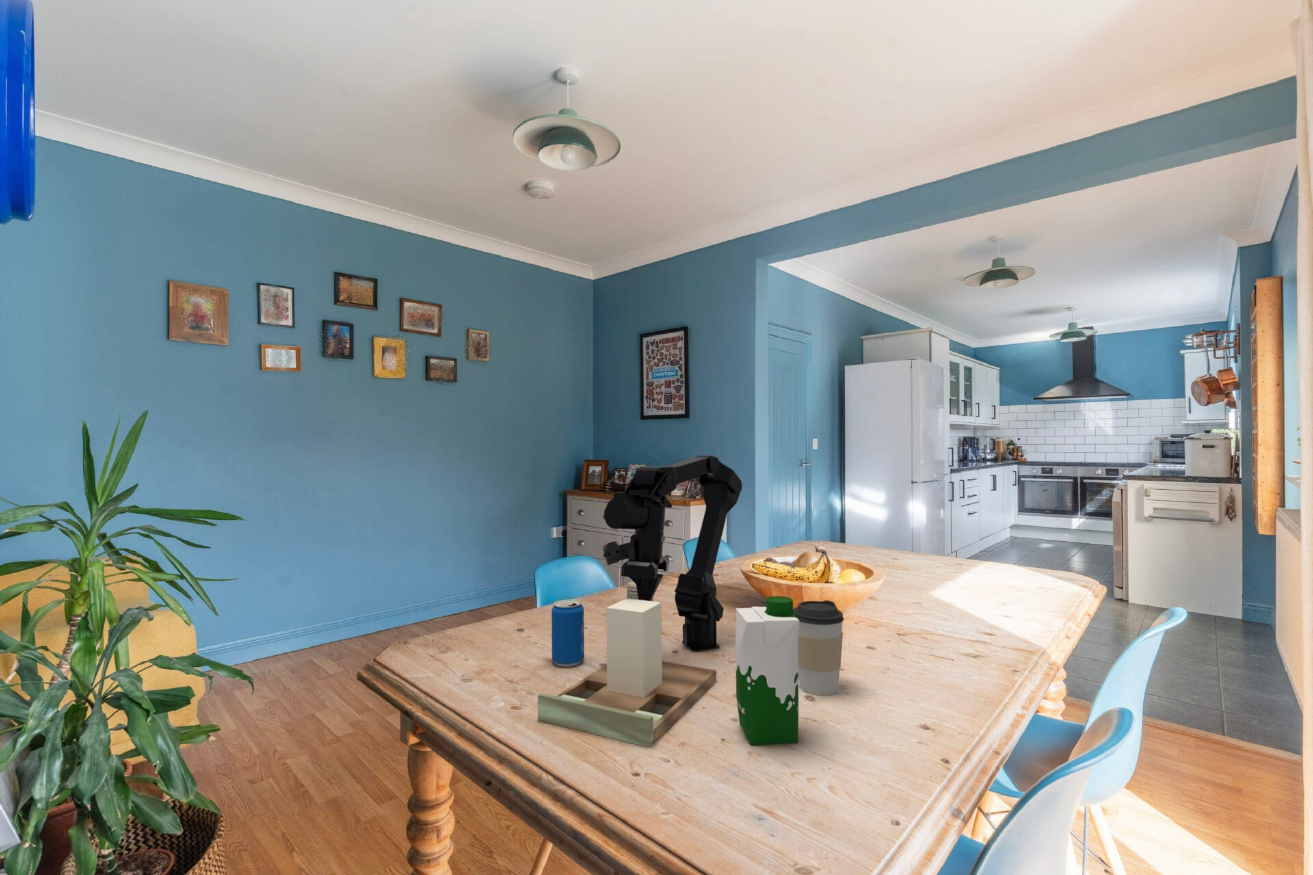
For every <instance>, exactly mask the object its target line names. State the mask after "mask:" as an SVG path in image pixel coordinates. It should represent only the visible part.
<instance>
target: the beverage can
mask: <svg viewBox="0 0 1313 875" xmlns="http://www.w3.org/2000/svg"><path fill="white" fill-rule="evenodd" d="M584 659H585V608H584V606H583V603H582V601H581V600H578V599H573V598H571V599H562V600H561V599H560V600H556V601H555V602H553V606H552V608H551V661H552V663H554V664H555V665H556V666H558V667H561V668H571V667H575V666H578V665H580V664H581V662H583V661H584Z"/></svg>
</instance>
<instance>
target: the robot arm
mask: <svg viewBox="0 0 1313 875" xmlns="http://www.w3.org/2000/svg"><path fill="white" fill-rule="evenodd" d="M694 479H697V483H698V484H699V485H700V487H701V488H702V493H701V495H702V499H703V502H704V504H705V510H704V514H703V518H702V521H701V526H700V530H699V533H698V538H697V541H696V546H695V550H694V554H693V558H692V562H691V565H690V568H689V570H688V571H687V572H686V573H680V574H679V575H678V578H677V584H676V586H675V589H674V593H675V594H674V602H675V606H676V610H677V614H678V616H679V617H683V618H684V623H683V624H682V640H681V643H682V644H683V645H684V646H686V647H687V649H689V650H690V651H691V652H700V651H701V652H702V651H707V650H716V649H721V645H720V644H718V643H717V639H718V638H717V636H718V635H717V632H718V631H717V622H720V620H722V619H723V616H724V610H725V609H724V607H723V605H722V604H721V603H720V601H719V600H718V599H717V591H718V590H717V585H716V583H715V578H714V571H715V566H716V563H717V558H718V553H719V549H720V545H721V540H722V536H723V532H724V528H725V524H726V520H727V515H728V513H729V512H730V511H731V510H732V509H733V507H734V506H736V504H737V503H738V501H739V497H740V495H741V492H742V489H743V482H742V480H741V478H740V477H739V476H738V475H737V473H736V472H735V470H733V469H732V468H731V467H729V466H727V465H726V464H724V463H722V462H721V461H720V460H719V458H718V457H716V456H714V455H697V456H694V457H692V458H688V459H685V460H682V461H678V462H676V463H672V464H669V465H657V466H656V465H654V466H653V465H650V466H649V465H648V466H647V465H646V466H644V465H643V466H641V465H640V466H639V467H637V468H636V469H635V473H634V475H633V477H632V478H631V479H630V480H629V482H628V485H627V486H626V488H625V490H623V492H621V491H619V492H618V491H614V493H613V498H612V499H610V500H609V501H608V502H607V504H606V505H605V509H604V510H603V518H604V522H605V523H606V525H607V526H608V527H609V528H611V529H613V530H634V533H633V534H632V535H631V536H630V540H629V542H625V543H621V544H619V542H618V541H616V540H615V541H611V542H607V543H606V548H605V549H603V554H602V555H603V556H602V557H603V558H604V559H605V561H606V565H607V566H610V565H614V564H615V563H618V562H620V561H621V562H622V561H624V560H625V562H624V563H623V564H622V565H621V567H620V568H621V570H620V576H621V577H626V578H629V579H630V580H631V582H632V581H633V582H634V583H635V584H636V588H637V593H638V600H645V601H651V600H652V598H653V599H654V596H655V594H656V591H657V589H658V588H659V586H660V583H661V582H662V579H663V578H664V574H662V573H659V572H658V571H659V570H661V571H663V572H668V571H669V565H670V563H669V562H670V561H669V559H667V557H666V556H663V550H664V548H663V547H664V542H665V541H666V535H664V530H665V520H666V519H665V518H666V509H671V508H673V505H672V503H671V502H670V501H669V500H668V498H667V496H668V495H669V494H671V493H672V492H674V491H676V489H677V487H678V486H679V485H680V484H683V483H686V482H688V481H691V480H694Z"/></svg>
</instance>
